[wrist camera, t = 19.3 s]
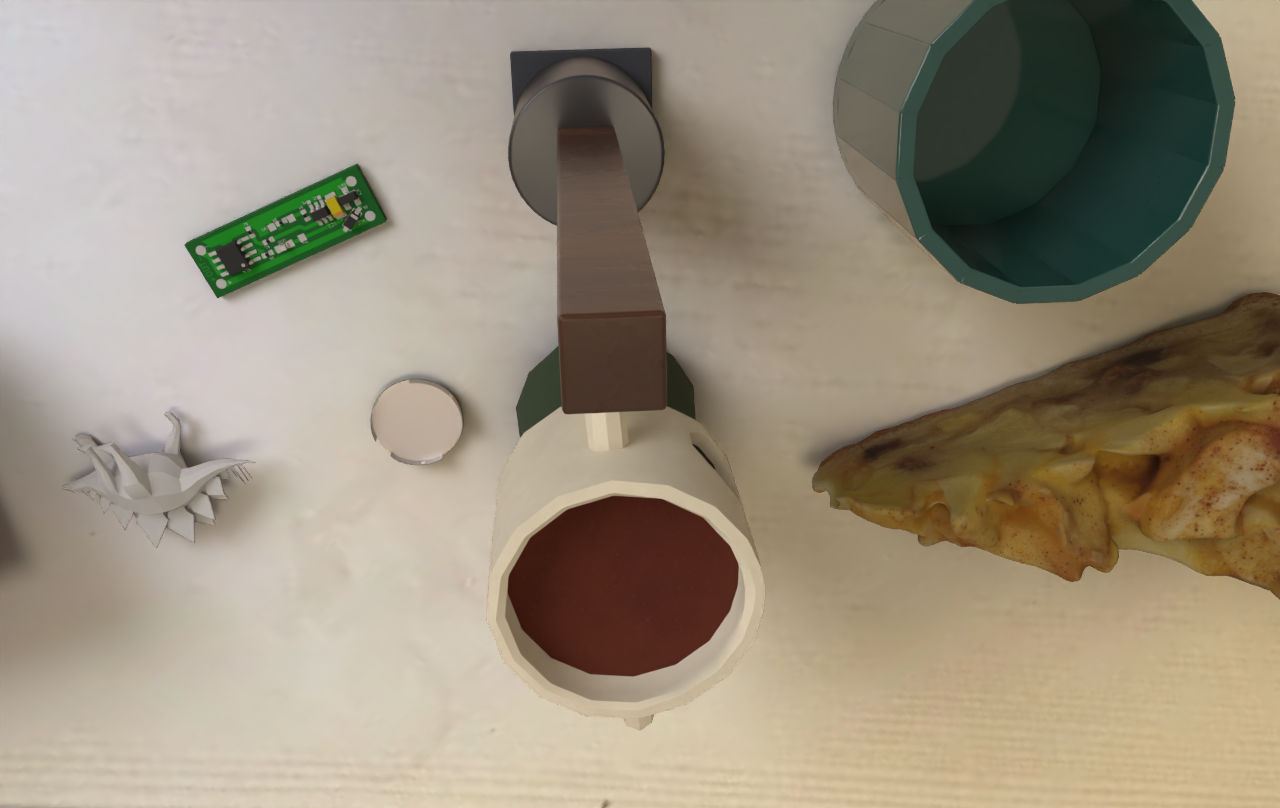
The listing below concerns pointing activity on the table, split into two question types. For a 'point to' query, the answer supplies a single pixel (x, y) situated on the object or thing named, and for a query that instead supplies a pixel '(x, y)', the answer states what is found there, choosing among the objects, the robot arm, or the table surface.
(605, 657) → the character mug
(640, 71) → the mat
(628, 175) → the brown post with base
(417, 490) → the table surface
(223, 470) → the stegosaurus
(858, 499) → the pie slice
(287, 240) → the green pcb module
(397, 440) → the grey round disc
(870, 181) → the cup
